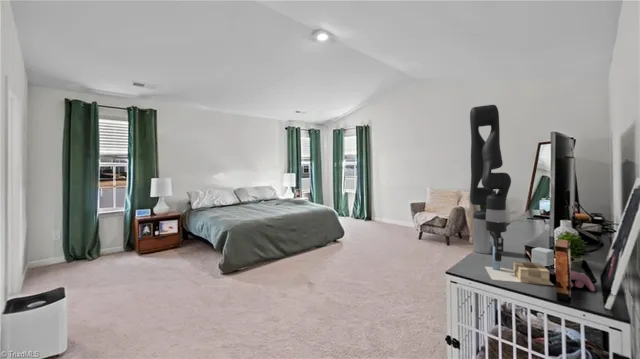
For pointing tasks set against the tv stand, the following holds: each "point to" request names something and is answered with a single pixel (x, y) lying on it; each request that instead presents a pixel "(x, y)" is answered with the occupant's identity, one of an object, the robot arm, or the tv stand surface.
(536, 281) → the checkered wooden block
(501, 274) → the felt mat
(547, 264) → the product box
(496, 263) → the dowel
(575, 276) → the video game controller
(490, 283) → the tv stand surface
